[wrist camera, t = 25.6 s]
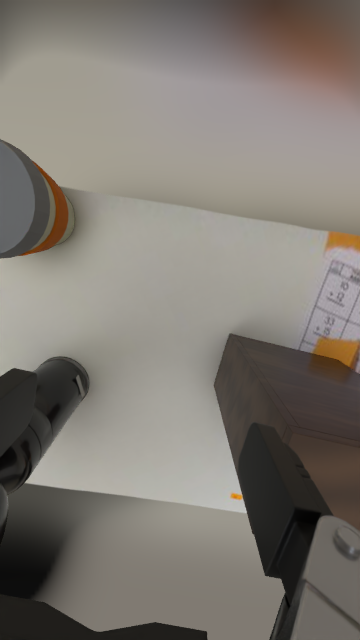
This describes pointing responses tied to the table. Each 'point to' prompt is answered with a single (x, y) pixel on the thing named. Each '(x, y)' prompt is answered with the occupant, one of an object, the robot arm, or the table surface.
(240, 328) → the table surface
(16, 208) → the reusable coffee cup
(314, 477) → the cupboard
